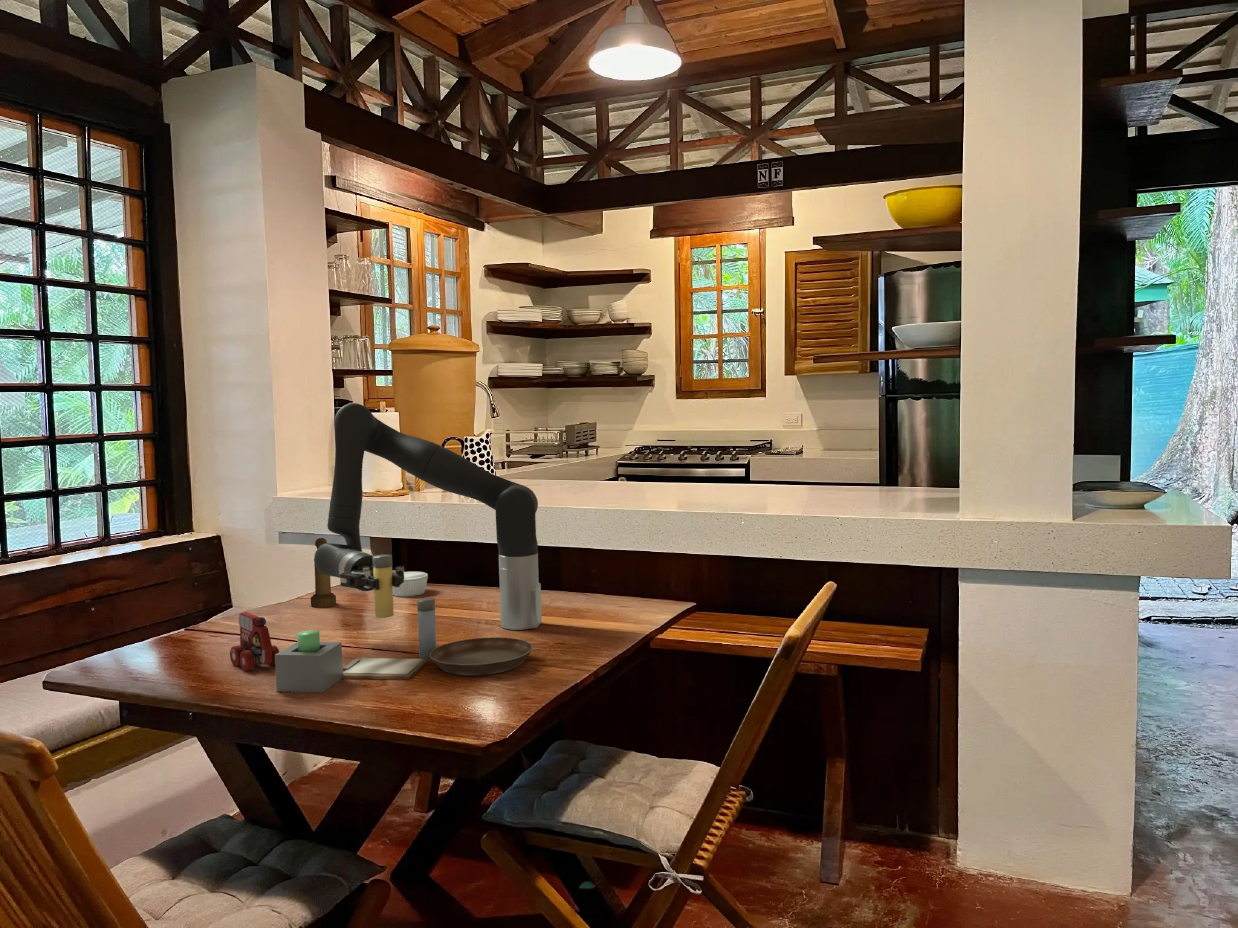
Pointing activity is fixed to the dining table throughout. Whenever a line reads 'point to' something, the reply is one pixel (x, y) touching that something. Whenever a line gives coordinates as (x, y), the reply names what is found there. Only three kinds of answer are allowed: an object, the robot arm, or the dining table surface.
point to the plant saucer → (481, 655)
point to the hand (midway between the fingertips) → (387, 583)
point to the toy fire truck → (253, 643)
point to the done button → (308, 641)
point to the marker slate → (426, 626)
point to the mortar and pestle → (322, 586)
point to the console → (309, 668)
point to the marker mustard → (383, 586)
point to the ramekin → (411, 584)
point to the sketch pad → (383, 668)
